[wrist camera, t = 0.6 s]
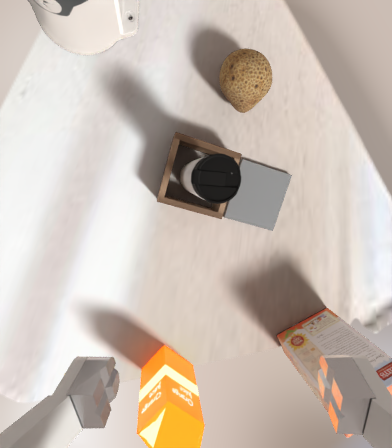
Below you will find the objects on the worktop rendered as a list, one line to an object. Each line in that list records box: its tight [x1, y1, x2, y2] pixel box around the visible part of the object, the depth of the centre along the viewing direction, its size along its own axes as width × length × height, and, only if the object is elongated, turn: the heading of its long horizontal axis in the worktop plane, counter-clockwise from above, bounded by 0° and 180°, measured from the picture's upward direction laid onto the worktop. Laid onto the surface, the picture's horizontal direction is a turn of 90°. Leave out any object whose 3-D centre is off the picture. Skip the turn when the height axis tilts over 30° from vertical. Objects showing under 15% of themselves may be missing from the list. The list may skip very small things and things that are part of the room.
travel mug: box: [180, 153, 241, 204], centre depth 40 cm, size 6×7×20 cm
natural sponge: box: [219, 49, 272, 113], centre depth 43 cm, size 9×9×10 cm
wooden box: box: [157, 132, 242, 219], centre depth 47 cm, size 12×12×6 cm
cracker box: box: [277, 308, 392, 438], centre depth 51 cm, size 14×6×21 cm, turn 115°
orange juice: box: [137, 345, 204, 448], centre depth 48 cm, size 8×9×20 cm
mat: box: [223, 159, 292, 231], centre depth 52 cm, size 12×11×1 cm
